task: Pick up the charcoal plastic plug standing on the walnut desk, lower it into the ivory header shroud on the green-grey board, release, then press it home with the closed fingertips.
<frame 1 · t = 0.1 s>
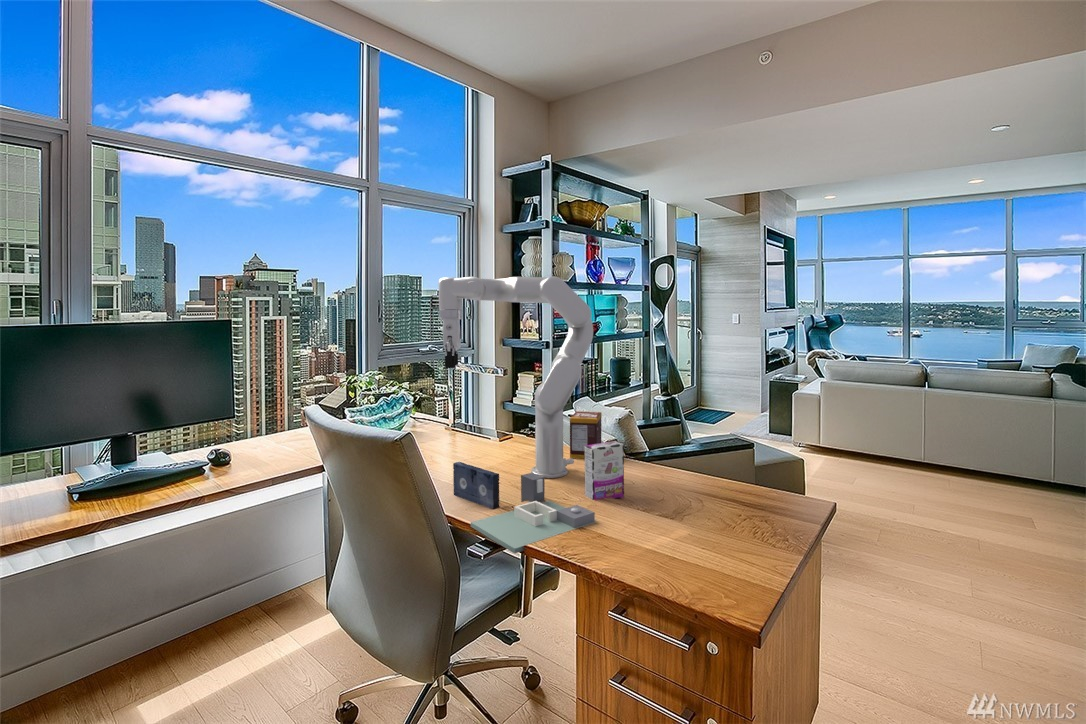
hand: (451, 366, 181), 37 cm above the table, tool pointing down, fingers open, 9 cm apart
supplement box: (586, 454, 211), on the table
grey button box: (575, 520, 140), resting on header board
vhs cassette tape: (475, 501, 159), on the table
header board: (534, 526, 140), on the table
candy bar box: (604, 499, 161), on the table
plug: (532, 503, 157), on the table
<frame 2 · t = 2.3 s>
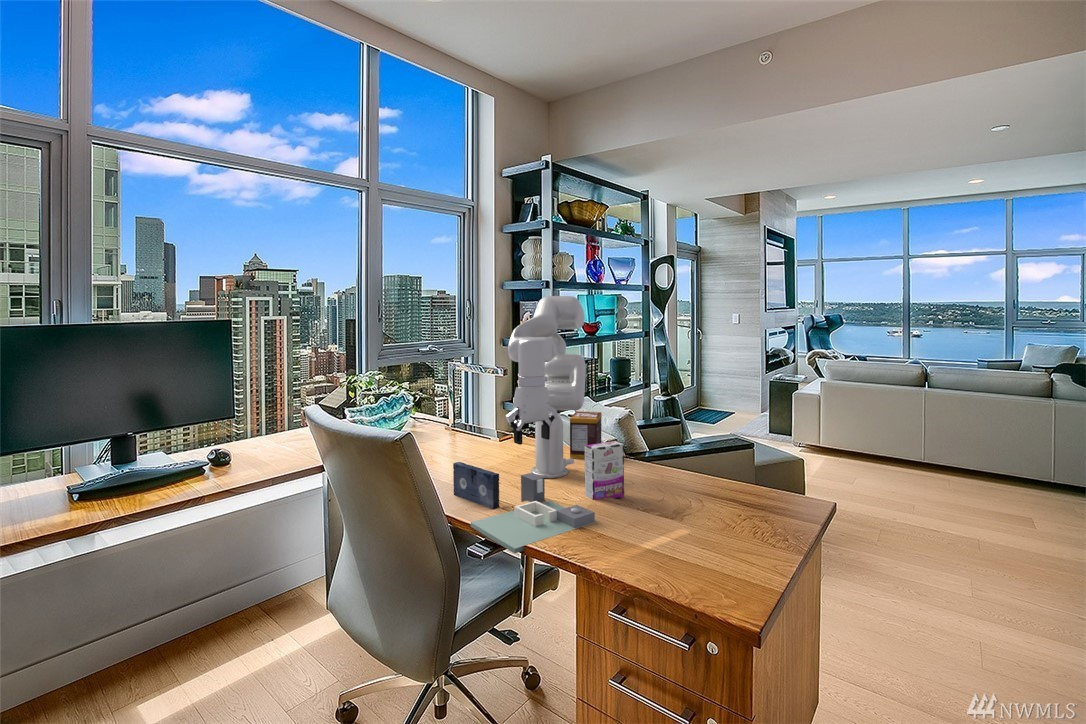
hand: (532, 441, 155), 18 cm above the table, tool pointing down, fingers open, 9 cm apart
nothing on the table moved.
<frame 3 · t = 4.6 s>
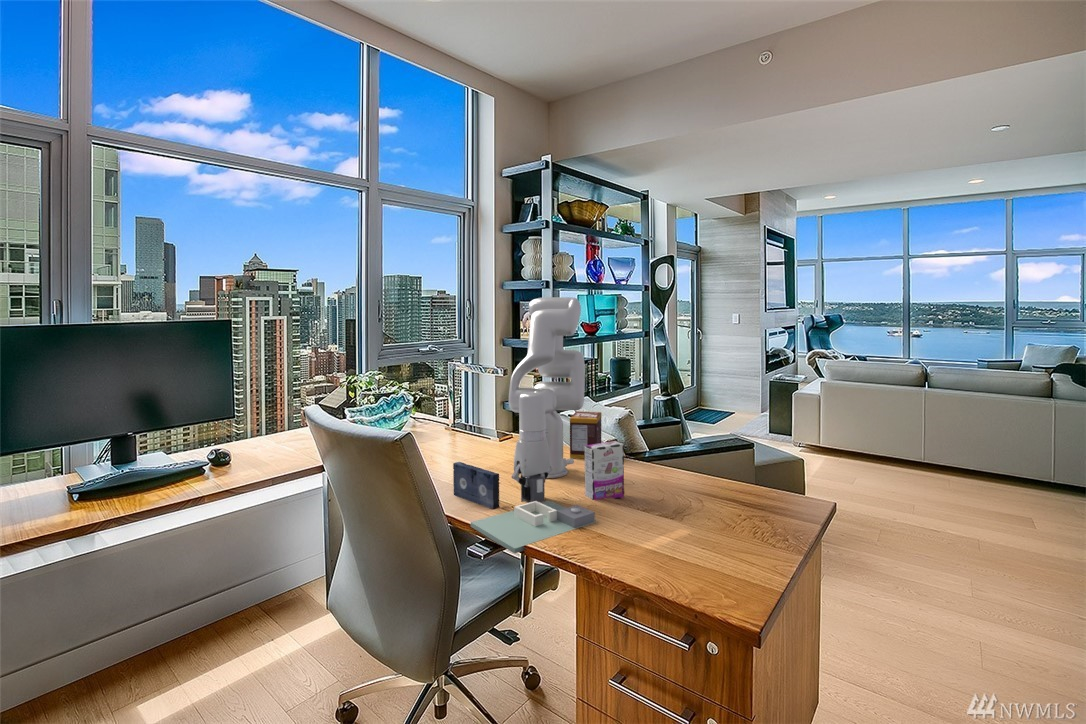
hand: (532, 496, 157), 2 cm above the table, tool pointing down, fingers closed on plug, 4 cm apart
plug: (532, 503, 157), on the table, touching gripper
everything else where it was.
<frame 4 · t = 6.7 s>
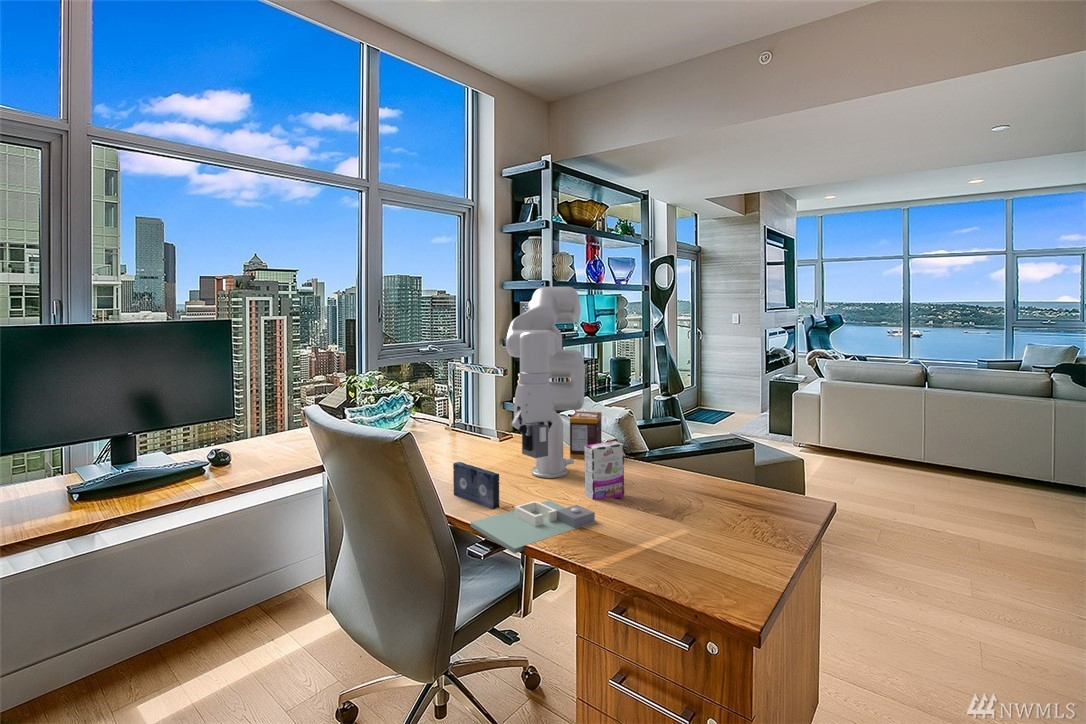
hand: (534, 448, 141), 20 cm above the table, tool pointing down, fingers closed on plug, 4 cm apart
plug: (534, 454, 141), point 18 cm above the table, touching gripper
everything else where it was.
when the fingers open (5 cm above the table, at t = 9.0 s): plug drops 2 cm, resting on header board.
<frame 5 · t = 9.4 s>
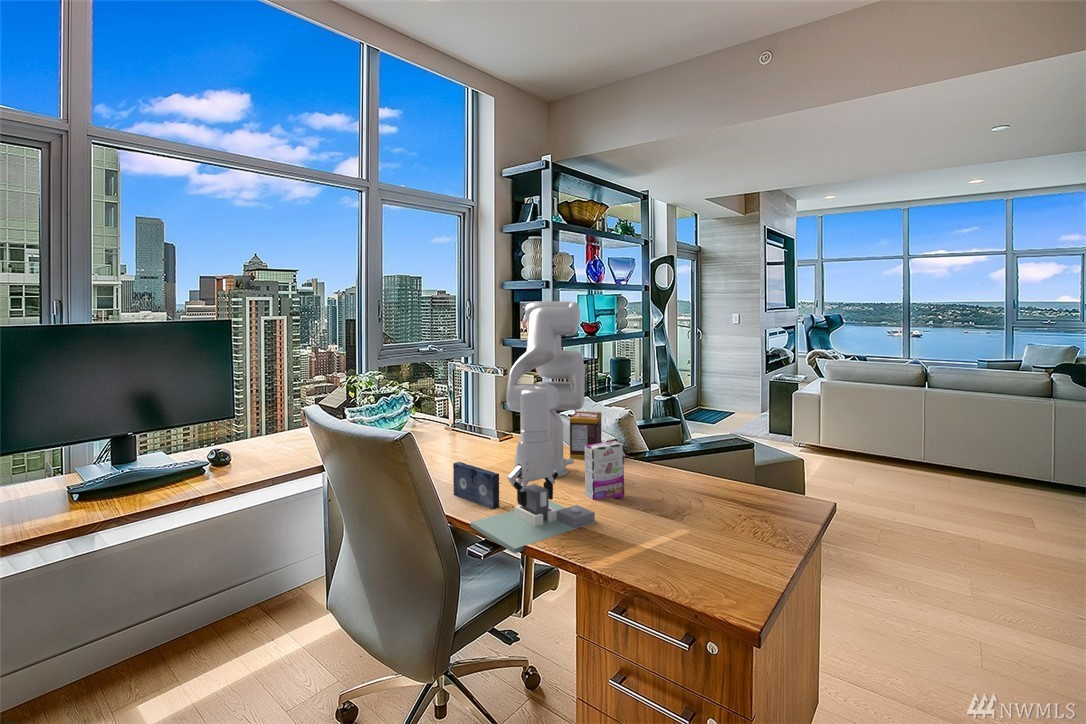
hand: (535, 501, 142), 6 cm above the table, tool pointing down, fingers open, 8 cm apart
plug: (535, 517, 142), point 1 cm above the table, touching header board
everything else where it was.
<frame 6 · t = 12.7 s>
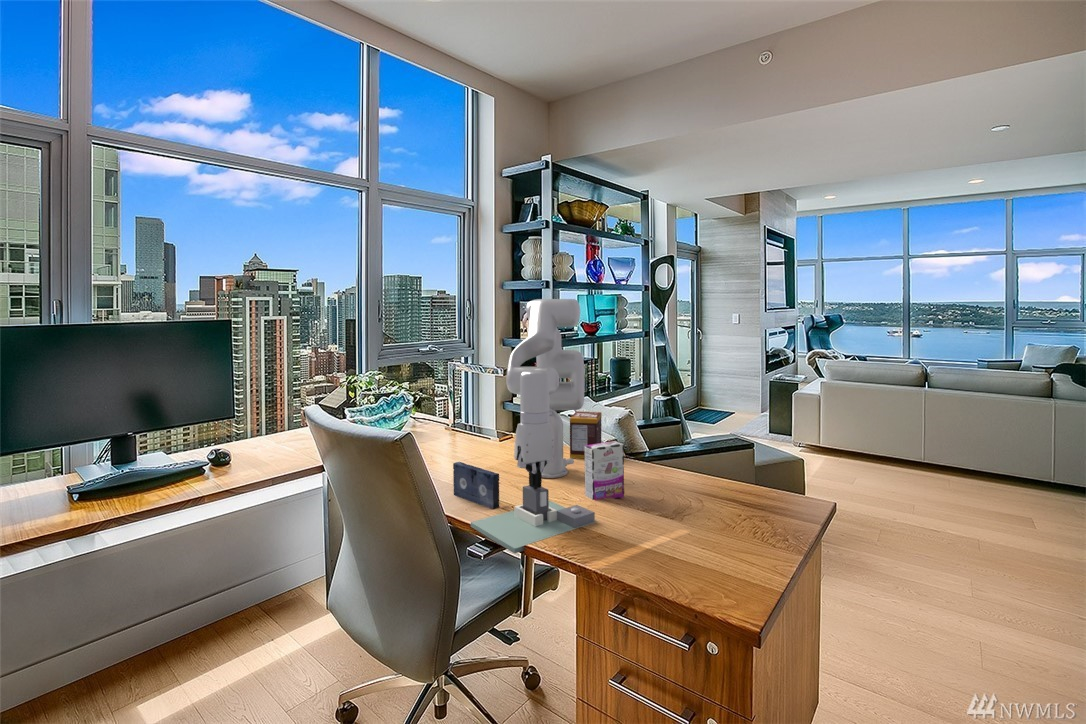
hand: (535, 486, 142), 10 cm above the table, tool pointing down, fingers closed
nothing on the table moved.
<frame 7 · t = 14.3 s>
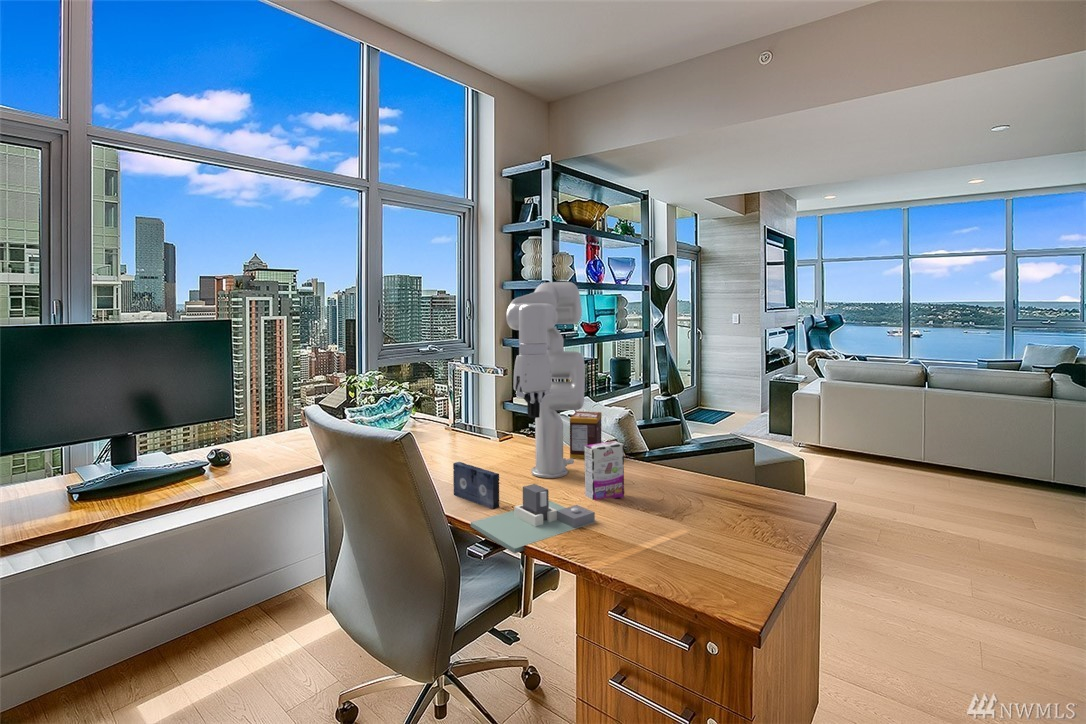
hand: (533, 416, 147), 27 cm above the table, tool pointing down, fingers closed
nothing on the table moved.
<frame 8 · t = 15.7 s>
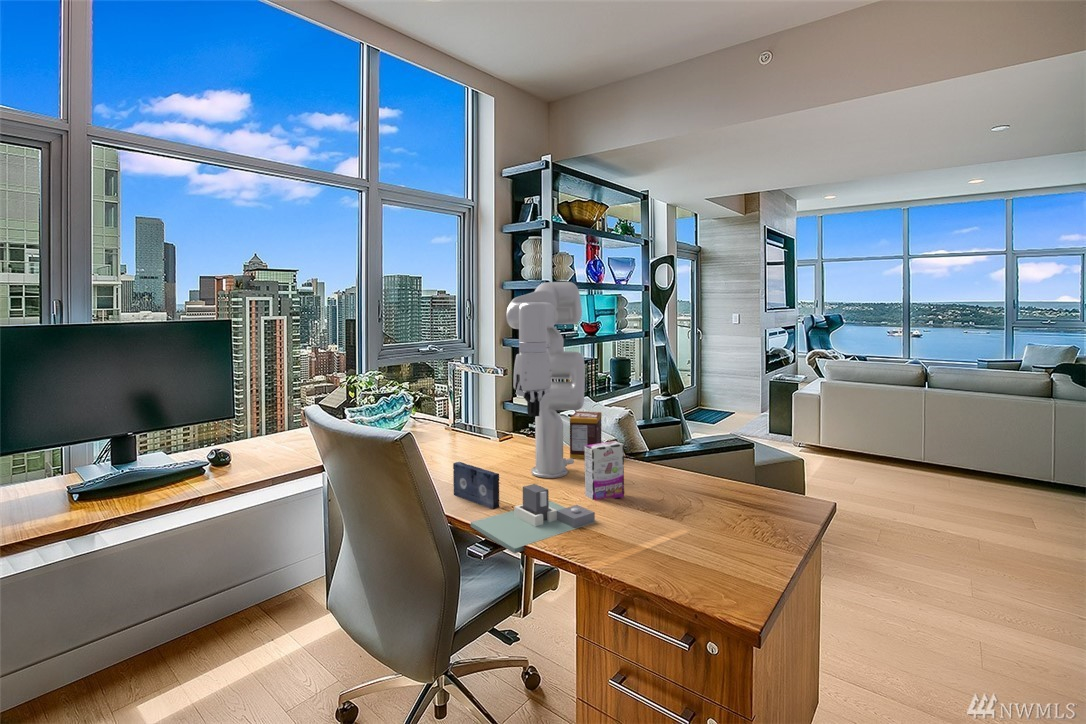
hand: (533, 415, 147), 27 cm above the table, tool pointing down, fingers closed
nothing on the table moved.
at the end: plug 0.0 cm from the target spot on the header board, point 1.2 cm above the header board's base; plug tilted 0°; the gripper is holding nothing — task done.
